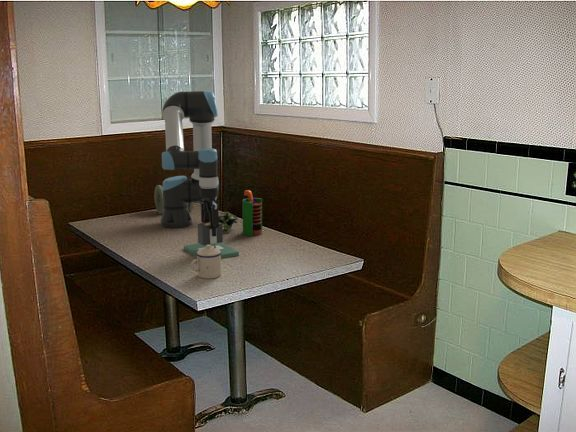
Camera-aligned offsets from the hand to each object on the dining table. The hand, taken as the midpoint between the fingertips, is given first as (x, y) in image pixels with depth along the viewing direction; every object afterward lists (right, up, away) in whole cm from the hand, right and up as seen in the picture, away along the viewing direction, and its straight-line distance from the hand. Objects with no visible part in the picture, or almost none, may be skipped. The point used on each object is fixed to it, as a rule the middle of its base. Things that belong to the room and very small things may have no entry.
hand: (210, 241), depth 266 cm
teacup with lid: (+2, -12, -28) cm, 31 cm away
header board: (0, -4, +1) cm, 5 cm away
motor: (+16, +3, +31) cm, 35 cm away
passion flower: (+3, +3, +34) cm, 34 cm away
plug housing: (0, 0, 0) cm, 0 cm away
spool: (-28, +13, +73) cm, 80 cm away
